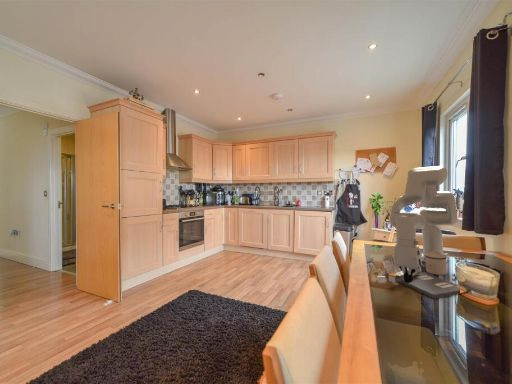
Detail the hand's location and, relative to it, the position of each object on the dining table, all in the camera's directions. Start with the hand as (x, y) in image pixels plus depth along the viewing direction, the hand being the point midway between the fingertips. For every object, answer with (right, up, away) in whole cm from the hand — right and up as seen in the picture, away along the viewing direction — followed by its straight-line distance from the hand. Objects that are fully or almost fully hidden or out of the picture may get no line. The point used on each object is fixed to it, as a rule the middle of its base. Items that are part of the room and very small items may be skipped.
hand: (408, 281), depth 104 cm
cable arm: (+3, 0, +6) cm, 7 cm away
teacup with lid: (+24, -1, +17) cm, 29 cm away
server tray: (+10, -2, +1) cm, 10 cm away
